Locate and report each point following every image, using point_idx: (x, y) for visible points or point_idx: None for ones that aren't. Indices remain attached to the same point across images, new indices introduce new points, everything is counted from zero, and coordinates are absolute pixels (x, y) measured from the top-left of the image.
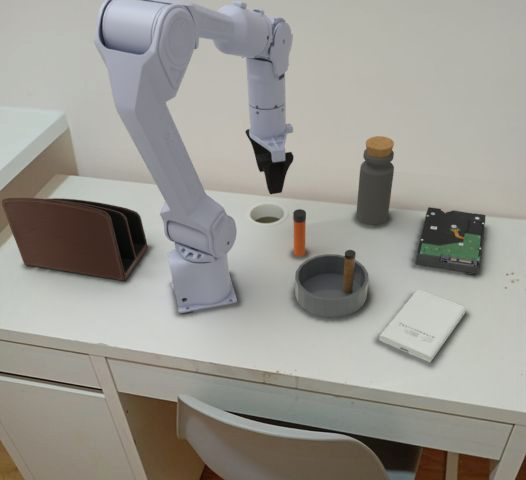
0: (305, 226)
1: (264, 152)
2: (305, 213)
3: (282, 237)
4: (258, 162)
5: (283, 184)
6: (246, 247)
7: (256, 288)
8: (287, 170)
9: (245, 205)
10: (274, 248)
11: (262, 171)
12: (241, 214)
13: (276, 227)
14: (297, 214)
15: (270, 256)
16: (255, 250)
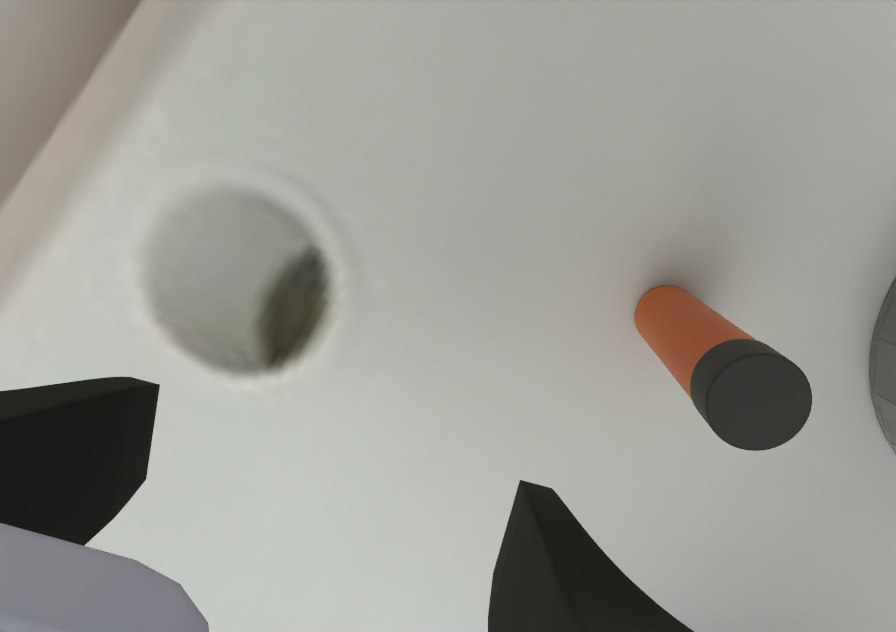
0: (746, 333)
1: (13, 519)
2: (797, 369)
3: (480, 318)
4: (83, 534)
5: (576, 519)
6: (464, 509)
7: (778, 612)
8: (674, 618)
9: (111, 346)
10: (545, 399)
11: (147, 459)
12: (183, 402)
13: (380, 301)
14: (774, 431)
15: (595, 447)
16: (510, 485)
